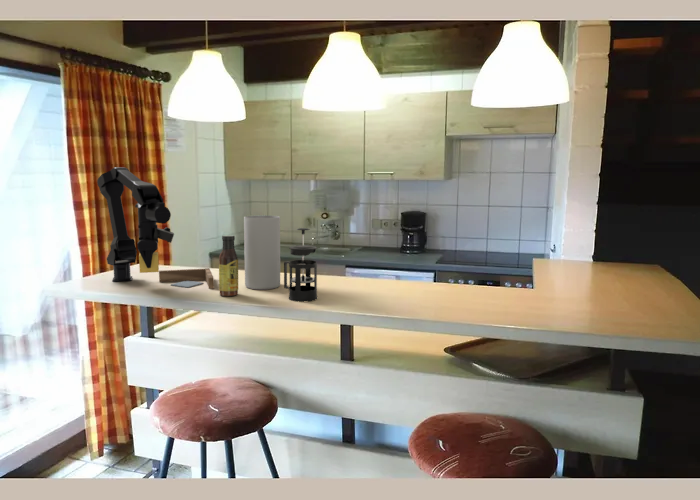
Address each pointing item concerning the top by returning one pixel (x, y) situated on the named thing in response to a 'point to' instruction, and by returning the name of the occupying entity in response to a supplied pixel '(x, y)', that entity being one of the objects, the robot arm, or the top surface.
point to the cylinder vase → (262, 252)
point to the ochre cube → (153, 265)
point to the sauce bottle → (228, 267)
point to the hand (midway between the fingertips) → (149, 266)
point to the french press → (300, 291)
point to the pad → (187, 284)
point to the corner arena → (187, 276)
